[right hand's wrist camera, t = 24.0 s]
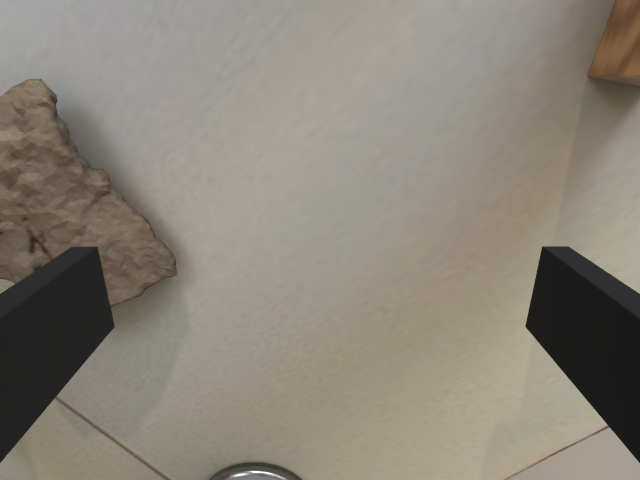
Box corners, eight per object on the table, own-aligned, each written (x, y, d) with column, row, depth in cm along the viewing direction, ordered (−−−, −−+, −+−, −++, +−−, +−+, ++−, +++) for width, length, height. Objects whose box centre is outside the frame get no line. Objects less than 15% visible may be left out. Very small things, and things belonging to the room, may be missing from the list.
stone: (-103, 157, 36) (-155, 174, 31) (46, 72, 36) (21, 73, 31) (72, 319, 46) (56, 353, 40) (187, 250, 46) (187, 274, 41)
